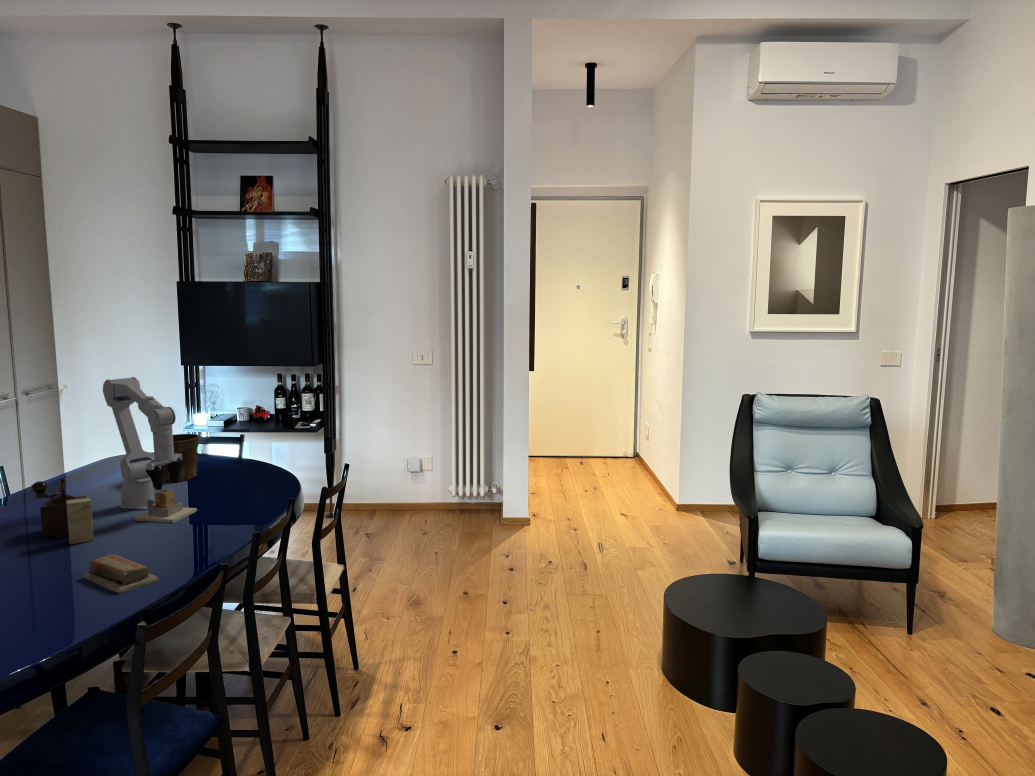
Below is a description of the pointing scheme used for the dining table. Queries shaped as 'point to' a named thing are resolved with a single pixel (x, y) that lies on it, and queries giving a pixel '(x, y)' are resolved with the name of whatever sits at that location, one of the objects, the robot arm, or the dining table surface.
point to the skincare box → (79, 520)
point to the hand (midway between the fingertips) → (166, 486)
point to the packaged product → (118, 574)
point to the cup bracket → (164, 513)
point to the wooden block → (164, 499)
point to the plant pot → (185, 456)
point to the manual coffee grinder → (54, 509)
